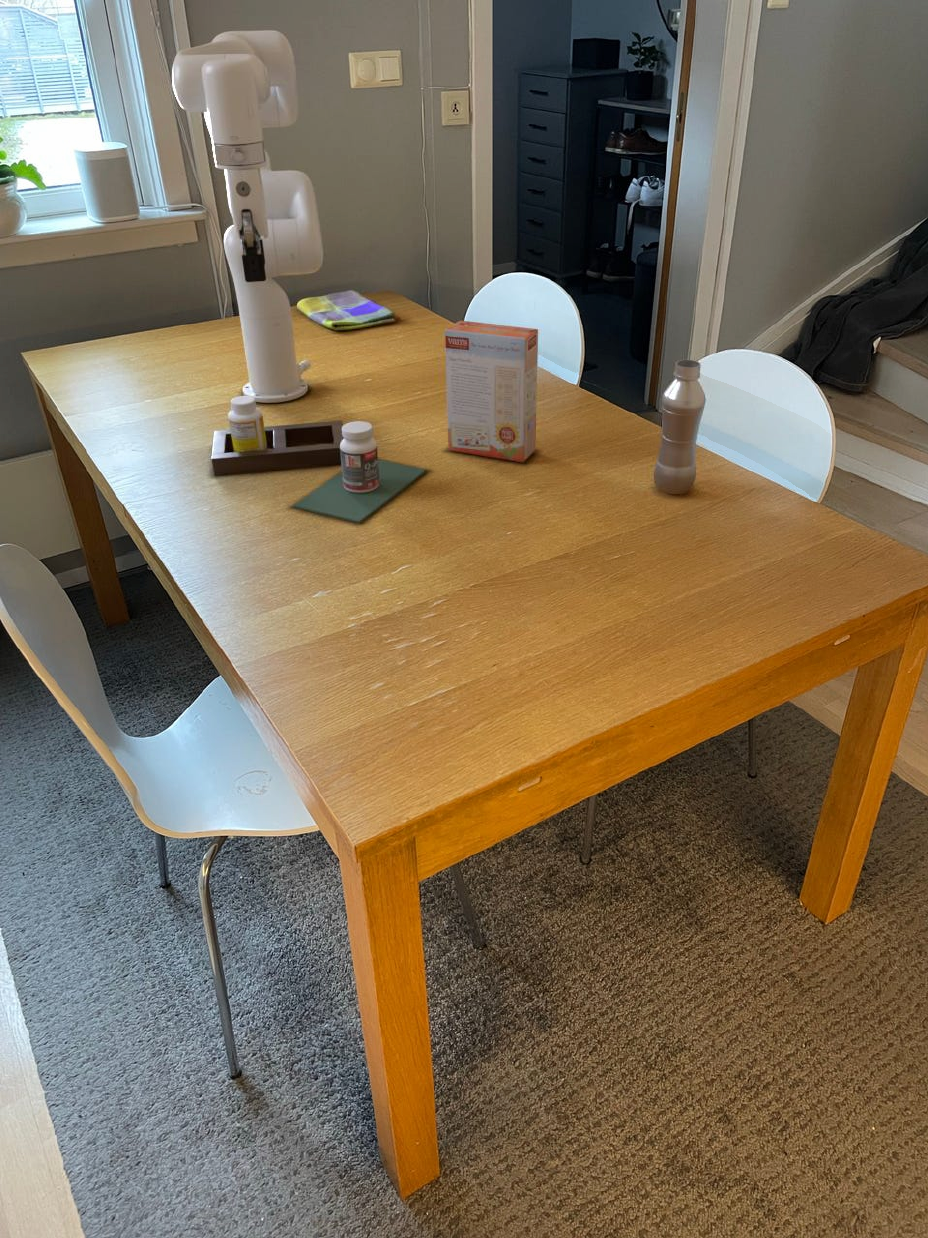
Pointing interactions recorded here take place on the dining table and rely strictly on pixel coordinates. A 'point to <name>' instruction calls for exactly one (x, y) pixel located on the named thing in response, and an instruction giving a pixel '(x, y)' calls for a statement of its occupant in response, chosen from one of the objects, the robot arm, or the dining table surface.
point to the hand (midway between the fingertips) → (255, 273)
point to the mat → (359, 505)
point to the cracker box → (491, 389)
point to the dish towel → (345, 311)
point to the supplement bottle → (246, 425)
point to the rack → (280, 449)
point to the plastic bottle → (680, 429)
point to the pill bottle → (359, 457)
